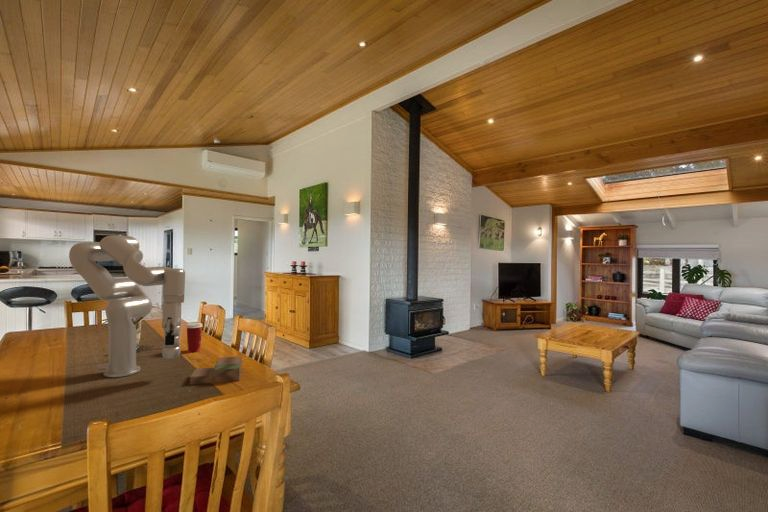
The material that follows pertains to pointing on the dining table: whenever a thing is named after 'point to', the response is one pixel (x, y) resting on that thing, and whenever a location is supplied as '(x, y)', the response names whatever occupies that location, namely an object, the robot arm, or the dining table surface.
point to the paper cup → (194, 336)
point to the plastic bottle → (172, 350)
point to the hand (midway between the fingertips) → (171, 342)
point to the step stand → (219, 371)
